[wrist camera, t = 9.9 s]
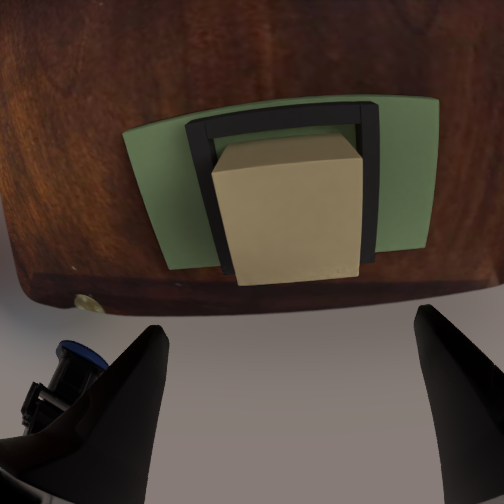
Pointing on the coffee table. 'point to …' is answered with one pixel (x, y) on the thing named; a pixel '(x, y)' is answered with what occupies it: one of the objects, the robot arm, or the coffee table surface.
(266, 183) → the foam block
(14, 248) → the coffee table surface
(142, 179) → the pad
